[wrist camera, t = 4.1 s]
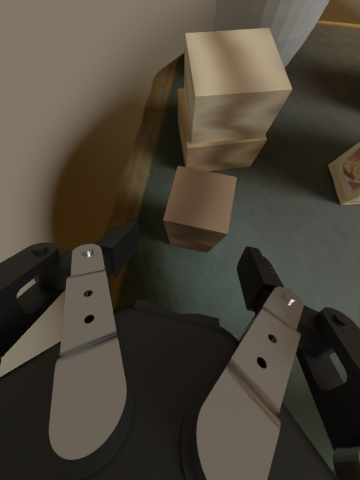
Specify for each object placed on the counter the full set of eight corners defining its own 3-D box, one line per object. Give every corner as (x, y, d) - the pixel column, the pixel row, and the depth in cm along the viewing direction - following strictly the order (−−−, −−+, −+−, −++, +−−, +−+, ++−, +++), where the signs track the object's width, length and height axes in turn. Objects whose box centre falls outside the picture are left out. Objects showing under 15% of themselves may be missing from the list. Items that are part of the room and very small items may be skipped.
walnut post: (213, 218, 21) (236, 177, 12) (207, 252, 20) (227, 233, 11) (178, 211, 21) (177, 165, 13) (170, 244, 20) (163, 220, 12)
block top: (248, 85, 21) (269, 27, 16) (263, 138, 19) (292, 89, 14) (183, 90, 21) (185, 33, 16) (191, 143, 19) (195, 96, 14)
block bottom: (235, 118, 26) (248, 82, 21) (249, 168, 24) (267, 139, 19) (178, 124, 26) (177, 88, 21) (185, 175, 23) (187, 148, 18)
